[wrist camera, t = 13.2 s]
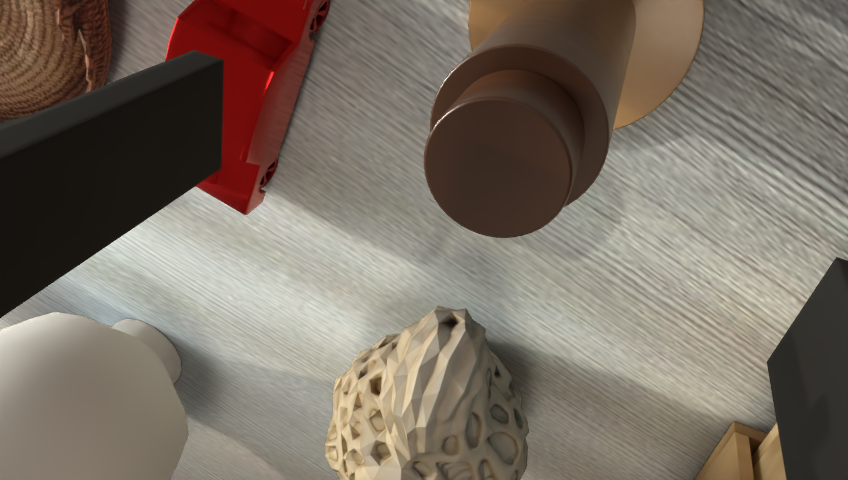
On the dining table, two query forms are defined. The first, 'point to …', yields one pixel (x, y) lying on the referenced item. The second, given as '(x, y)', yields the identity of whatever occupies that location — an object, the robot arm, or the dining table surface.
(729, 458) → the cabinet
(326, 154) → the dining table surface
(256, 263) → the dining table surface
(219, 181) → the toy car
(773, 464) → the drawer
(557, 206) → the pepper mill
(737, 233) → the dining table surface
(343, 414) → the teapot
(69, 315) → the vase
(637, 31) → the coaster
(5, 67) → the basket
